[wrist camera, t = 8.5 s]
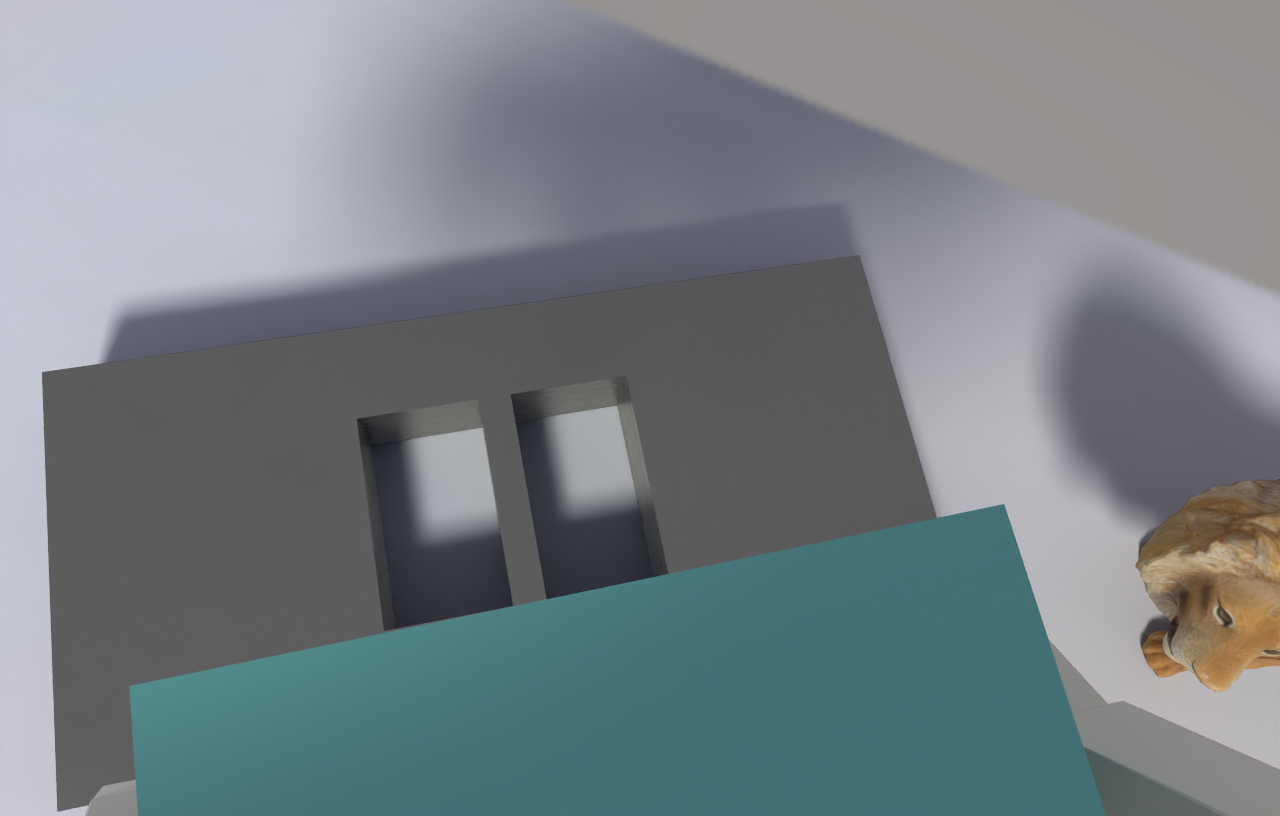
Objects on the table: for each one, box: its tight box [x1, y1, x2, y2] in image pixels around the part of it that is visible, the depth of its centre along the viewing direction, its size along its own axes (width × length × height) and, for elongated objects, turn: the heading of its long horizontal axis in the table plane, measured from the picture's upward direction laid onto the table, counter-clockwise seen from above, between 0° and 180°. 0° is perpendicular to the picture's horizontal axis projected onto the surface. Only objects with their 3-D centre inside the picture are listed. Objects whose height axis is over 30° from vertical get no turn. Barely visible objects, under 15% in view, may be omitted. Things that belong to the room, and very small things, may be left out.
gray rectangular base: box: [42, 256, 936, 811], centre depth 25 cm, size 21×10×2 cm, turn 102°
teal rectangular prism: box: [129, 504, 1106, 816], centre depth 9 cm, size 5×3×8 cm, turn 102°
